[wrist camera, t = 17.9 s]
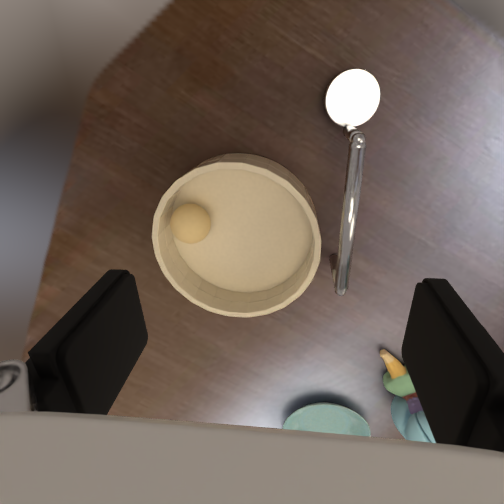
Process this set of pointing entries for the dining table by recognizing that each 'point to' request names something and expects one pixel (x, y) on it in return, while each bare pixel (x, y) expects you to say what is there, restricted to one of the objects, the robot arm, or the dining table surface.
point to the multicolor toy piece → (405, 402)
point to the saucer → (327, 420)
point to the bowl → (241, 236)
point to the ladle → (350, 155)
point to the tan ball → (190, 223)
